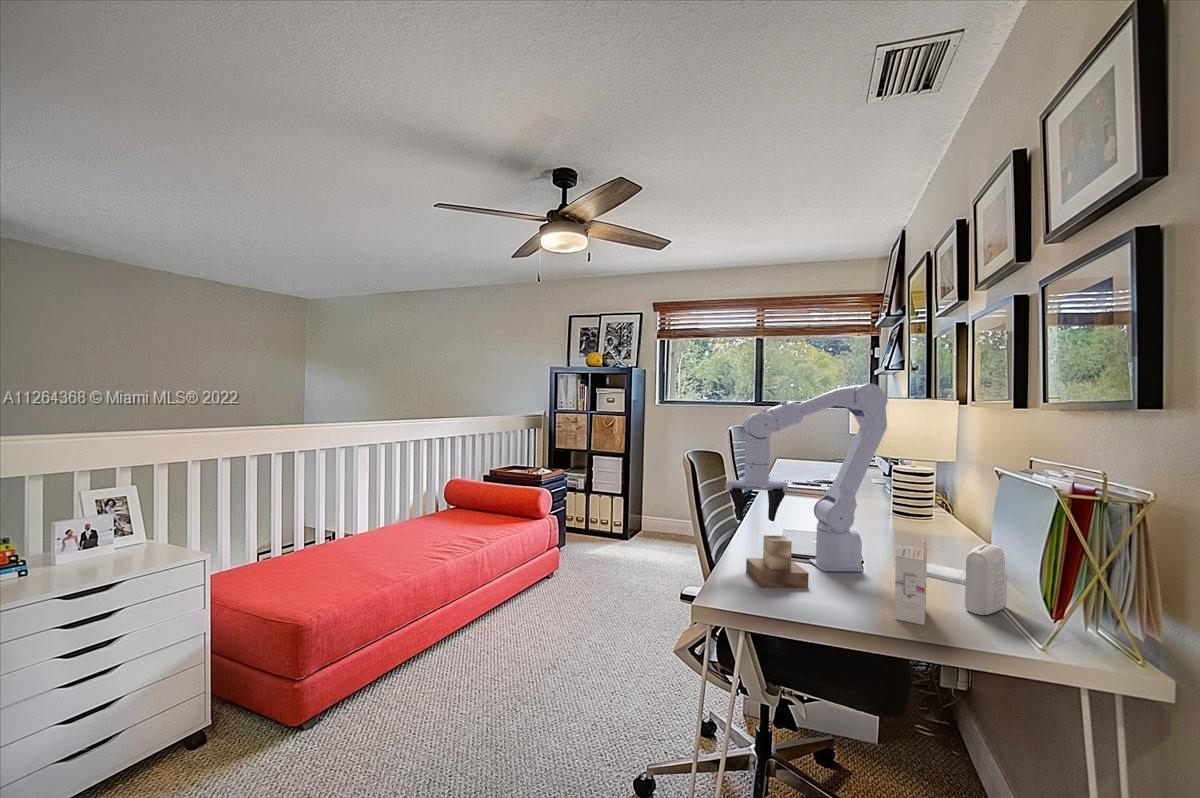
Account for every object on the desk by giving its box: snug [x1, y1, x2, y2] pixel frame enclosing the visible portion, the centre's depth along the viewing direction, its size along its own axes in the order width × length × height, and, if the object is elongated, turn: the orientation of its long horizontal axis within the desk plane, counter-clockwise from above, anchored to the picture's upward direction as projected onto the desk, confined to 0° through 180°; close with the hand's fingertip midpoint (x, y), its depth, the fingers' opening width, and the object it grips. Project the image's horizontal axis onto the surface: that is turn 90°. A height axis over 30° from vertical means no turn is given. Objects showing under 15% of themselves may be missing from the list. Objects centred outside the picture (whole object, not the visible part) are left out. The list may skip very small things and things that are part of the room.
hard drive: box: [927, 562, 966, 585], centre depth 124 cm, size 2×8×12 cm
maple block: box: [762, 535, 793, 569], centre depth 117 cm, size 4×4×6 cm
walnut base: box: [745, 557, 810, 588], centre depth 117 cm, size 10×10×3 cm
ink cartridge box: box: [894, 533, 928, 626], centre depth 99 cm, size 9×5×15 cm, turn 148°
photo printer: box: [964, 543, 1008, 616], centre depth 103 cm, size 10×4×12 cm, turn 123°
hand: (755, 520), depth 128 cm, fingers open, 7 cm apart
